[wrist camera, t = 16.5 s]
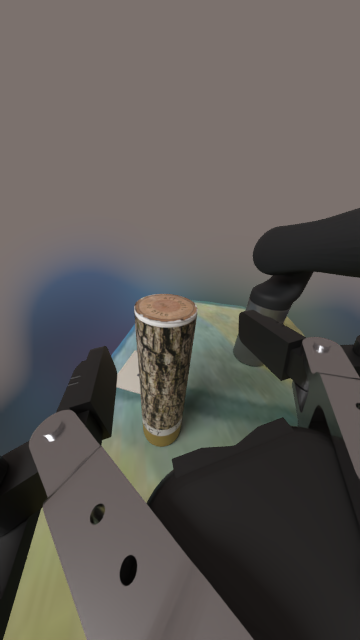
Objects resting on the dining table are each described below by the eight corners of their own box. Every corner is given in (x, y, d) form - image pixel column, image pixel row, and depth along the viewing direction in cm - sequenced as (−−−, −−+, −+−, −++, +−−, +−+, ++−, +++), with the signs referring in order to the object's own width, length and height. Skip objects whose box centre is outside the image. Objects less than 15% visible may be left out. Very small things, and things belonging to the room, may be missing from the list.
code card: (134, 351, 48) (134, 350, 48) (175, 360, 46) (175, 360, 46) (110, 385, 38) (109, 384, 38) (160, 399, 36) (160, 399, 36)
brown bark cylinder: (168, 403, 35) (175, 290, 22) (187, 433, 31) (210, 312, 18) (137, 421, 32) (124, 299, 19) (154, 458, 27) (152, 330, 14)
